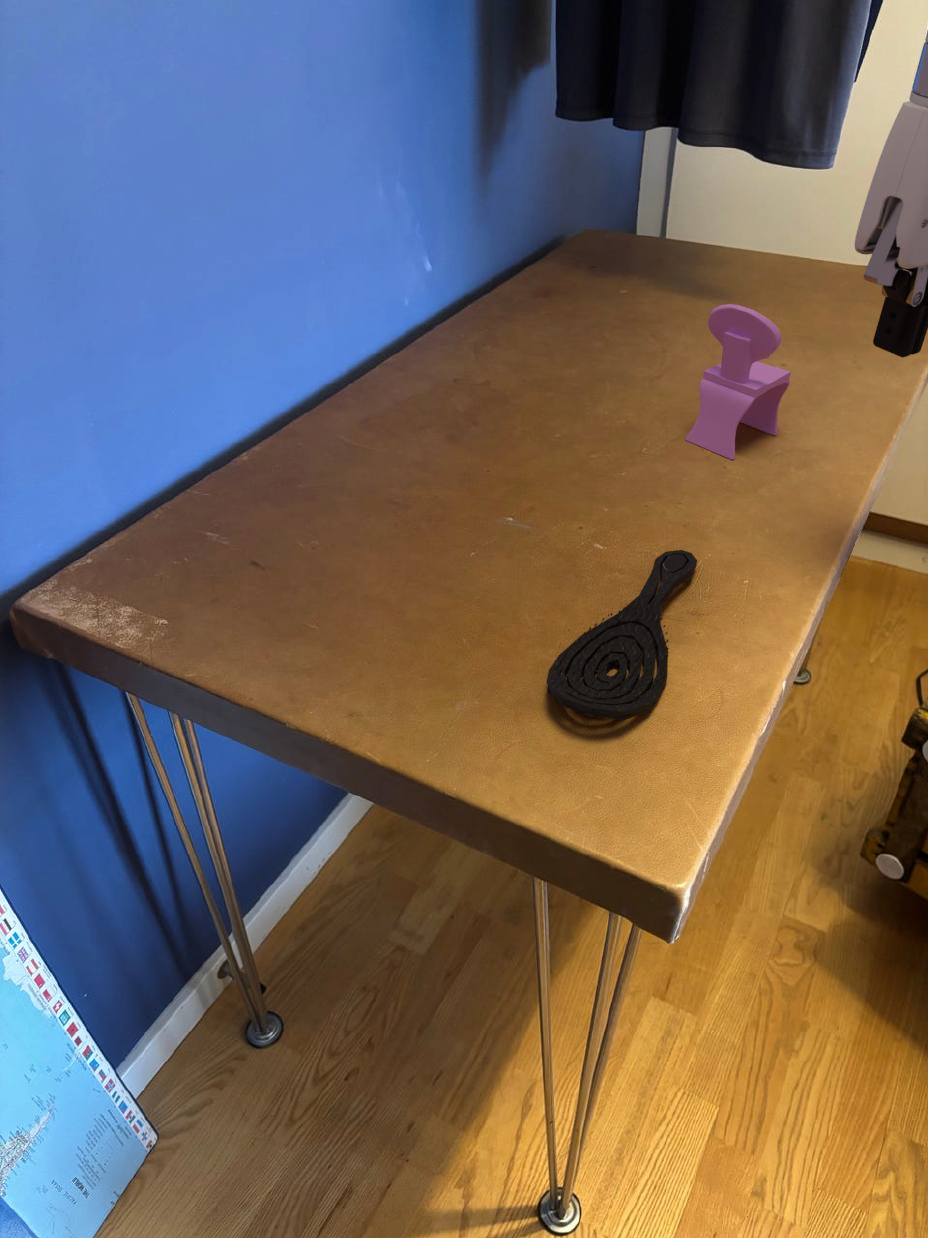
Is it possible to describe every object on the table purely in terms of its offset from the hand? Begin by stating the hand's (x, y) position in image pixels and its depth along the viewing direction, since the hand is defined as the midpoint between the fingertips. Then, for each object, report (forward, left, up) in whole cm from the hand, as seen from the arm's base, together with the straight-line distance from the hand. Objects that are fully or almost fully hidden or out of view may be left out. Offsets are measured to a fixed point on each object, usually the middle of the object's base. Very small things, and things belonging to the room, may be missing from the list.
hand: (895, 348), depth 71 cm
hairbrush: (0, +23, -19) cm, 30 cm away
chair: (+21, -8, -19) cm, 30 cm away
